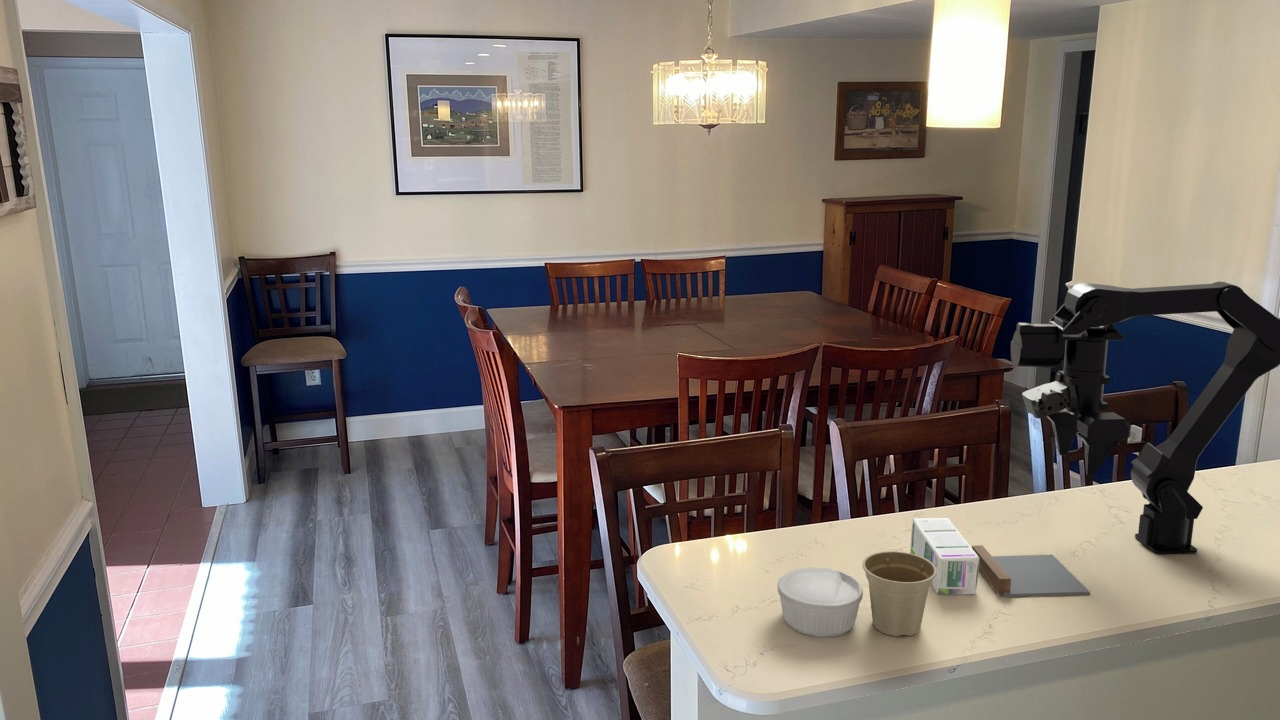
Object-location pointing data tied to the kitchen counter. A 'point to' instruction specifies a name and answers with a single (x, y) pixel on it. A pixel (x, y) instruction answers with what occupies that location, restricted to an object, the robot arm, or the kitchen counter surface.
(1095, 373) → the robot arm
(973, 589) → the syrup box
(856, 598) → the ramekin
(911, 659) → the kitchen counter surface
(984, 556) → the stop block
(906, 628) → the flower pot
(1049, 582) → the seat mat
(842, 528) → the kitchen counter surface
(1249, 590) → the kitchen counter surface
